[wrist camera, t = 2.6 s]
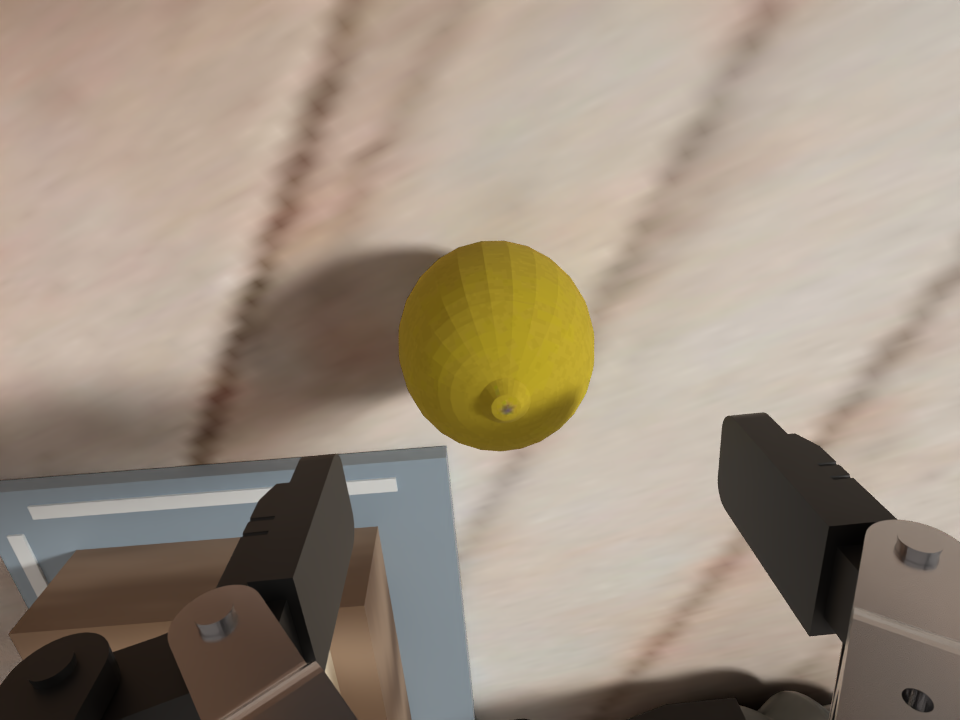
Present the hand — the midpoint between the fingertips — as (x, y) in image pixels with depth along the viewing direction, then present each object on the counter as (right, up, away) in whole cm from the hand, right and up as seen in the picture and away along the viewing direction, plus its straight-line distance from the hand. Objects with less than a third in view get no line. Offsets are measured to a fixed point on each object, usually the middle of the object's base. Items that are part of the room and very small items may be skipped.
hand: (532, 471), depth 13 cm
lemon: (-1, +5, +8) cm, 10 cm away
